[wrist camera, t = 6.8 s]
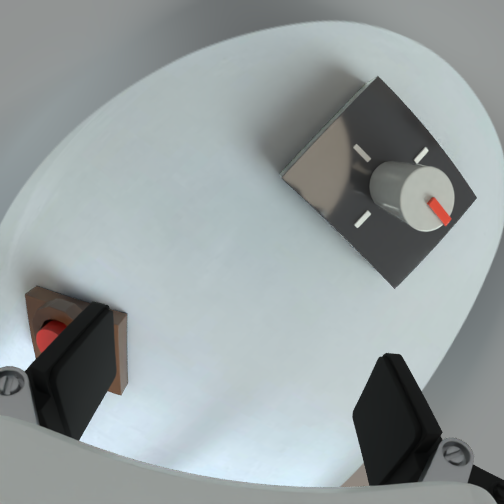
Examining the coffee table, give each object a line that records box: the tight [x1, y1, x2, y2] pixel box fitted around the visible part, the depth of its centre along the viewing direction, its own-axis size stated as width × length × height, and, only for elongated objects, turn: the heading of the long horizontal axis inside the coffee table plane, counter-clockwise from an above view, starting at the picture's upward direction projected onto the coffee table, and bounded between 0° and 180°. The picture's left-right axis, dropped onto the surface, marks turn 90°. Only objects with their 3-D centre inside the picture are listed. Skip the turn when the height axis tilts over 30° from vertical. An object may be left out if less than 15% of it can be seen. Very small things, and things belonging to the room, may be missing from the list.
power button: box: [36, 320, 67, 353], centre depth 24 cm, size 4×4×2 cm
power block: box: [25, 286, 128, 395], centre depth 27 cm, size 11×10×4 cm
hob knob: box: [369, 161, 454, 232], centre depth 18 cm, size 4×4×6 cm
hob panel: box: [280, 76, 477, 289], centre depth 22 cm, size 12×10×3 cm
